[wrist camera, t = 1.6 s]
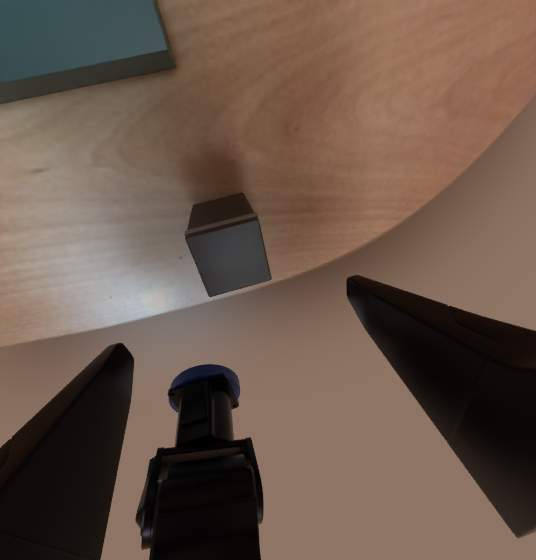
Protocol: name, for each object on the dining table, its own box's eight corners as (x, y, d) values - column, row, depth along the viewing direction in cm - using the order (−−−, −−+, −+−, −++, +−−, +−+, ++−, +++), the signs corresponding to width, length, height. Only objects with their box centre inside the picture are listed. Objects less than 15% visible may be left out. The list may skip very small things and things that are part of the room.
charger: (255, 239, 21) (272, 280, 15) (208, 251, 21) (208, 298, 15) (243, 191, 19) (259, 217, 13) (191, 204, 18) (183, 237, 12)
